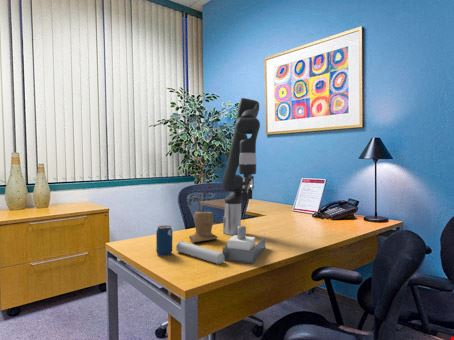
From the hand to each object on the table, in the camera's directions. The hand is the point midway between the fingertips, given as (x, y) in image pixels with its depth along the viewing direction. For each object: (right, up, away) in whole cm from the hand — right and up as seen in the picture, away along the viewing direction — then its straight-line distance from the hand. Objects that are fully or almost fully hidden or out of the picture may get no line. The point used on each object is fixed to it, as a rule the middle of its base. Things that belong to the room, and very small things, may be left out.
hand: (247, 200), depth 135 cm
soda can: (-37, -24, 0) cm, 44 cm away
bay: (-1, -24, +2) cm, 24 cm away
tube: (-20, -25, -4) cm, 32 cm away
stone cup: (-22, -23, +23) cm, 40 cm away
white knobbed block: (-3, -23, -4) cm, 24 cm away
